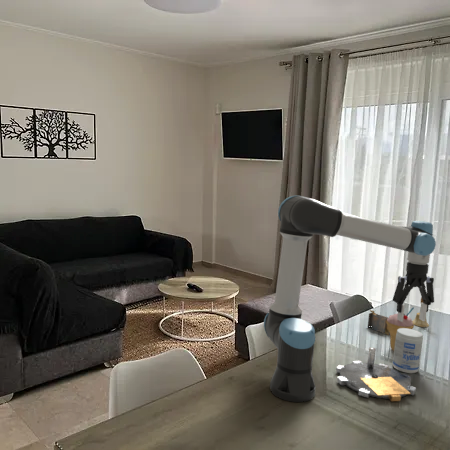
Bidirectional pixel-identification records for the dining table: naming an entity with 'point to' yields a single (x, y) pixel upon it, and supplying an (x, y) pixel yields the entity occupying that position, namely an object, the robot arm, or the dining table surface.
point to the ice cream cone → (398, 326)
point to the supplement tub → (407, 350)
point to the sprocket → (375, 379)
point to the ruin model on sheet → (378, 322)
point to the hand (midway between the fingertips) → (411, 320)
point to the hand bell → (420, 322)
